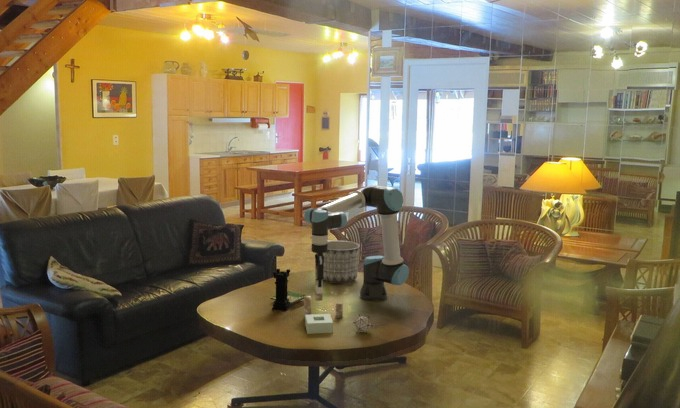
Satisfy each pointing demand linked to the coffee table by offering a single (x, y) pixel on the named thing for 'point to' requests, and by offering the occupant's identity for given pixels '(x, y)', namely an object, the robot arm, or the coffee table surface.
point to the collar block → (318, 323)
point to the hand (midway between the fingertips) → (318, 291)
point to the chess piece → (281, 290)
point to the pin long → (317, 296)
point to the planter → (341, 261)
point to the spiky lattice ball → (362, 324)
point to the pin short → (339, 310)
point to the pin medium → (307, 305)
